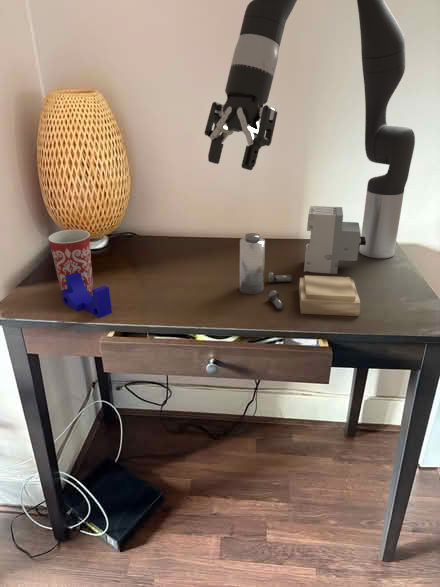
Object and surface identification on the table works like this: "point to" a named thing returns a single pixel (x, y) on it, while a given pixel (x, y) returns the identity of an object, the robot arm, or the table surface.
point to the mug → (72, 256)
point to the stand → (328, 296)
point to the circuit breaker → (330, 240)
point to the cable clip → (86, 296)
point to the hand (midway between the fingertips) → (229, 165)
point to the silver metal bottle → (252, 264)
